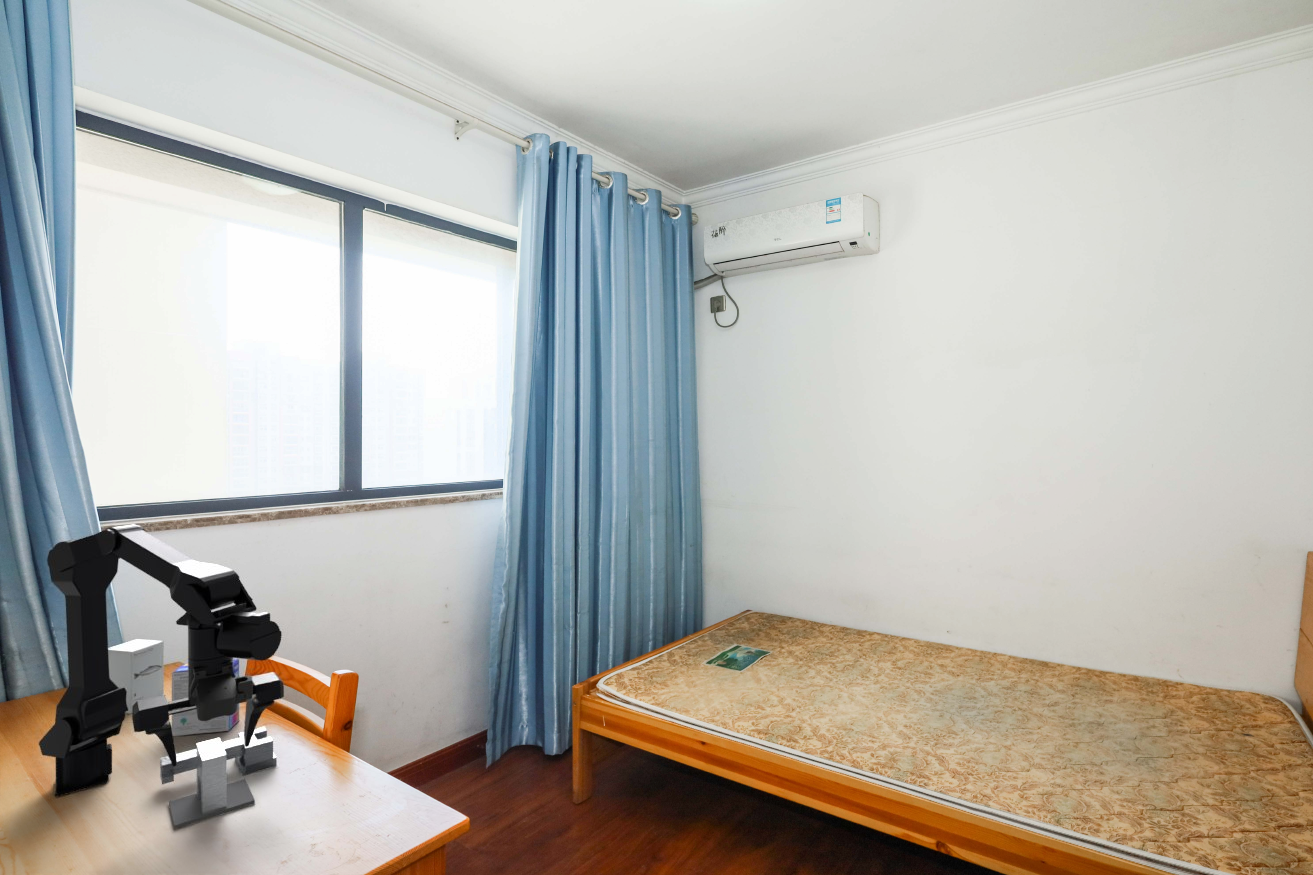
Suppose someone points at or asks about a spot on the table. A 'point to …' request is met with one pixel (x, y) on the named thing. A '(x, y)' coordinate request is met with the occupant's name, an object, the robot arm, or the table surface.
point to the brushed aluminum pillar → (211, 775)
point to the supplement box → (138, 669)
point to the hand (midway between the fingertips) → (211, 755)
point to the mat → (190, 812)
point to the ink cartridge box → (189, 720)
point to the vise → (228, 756)
